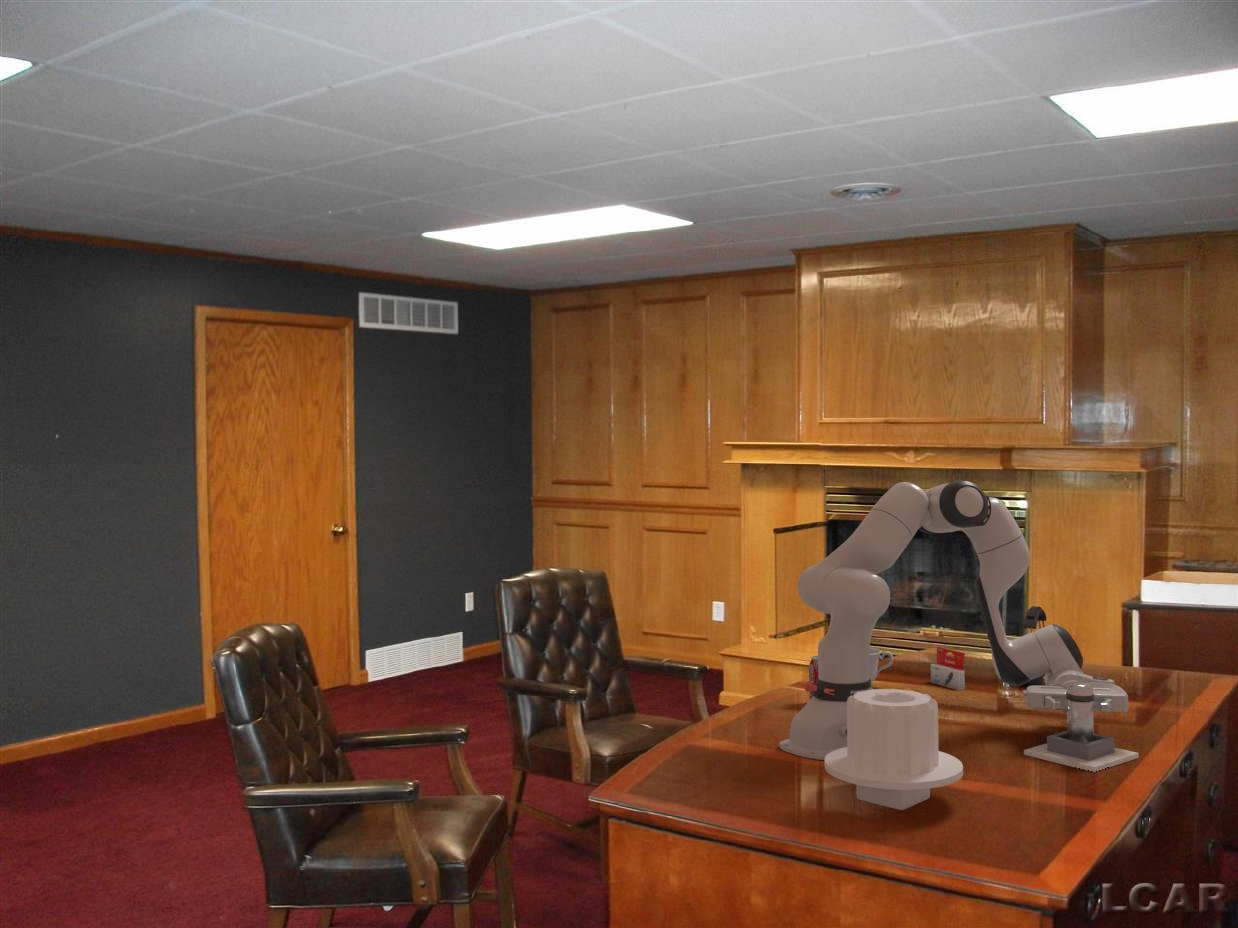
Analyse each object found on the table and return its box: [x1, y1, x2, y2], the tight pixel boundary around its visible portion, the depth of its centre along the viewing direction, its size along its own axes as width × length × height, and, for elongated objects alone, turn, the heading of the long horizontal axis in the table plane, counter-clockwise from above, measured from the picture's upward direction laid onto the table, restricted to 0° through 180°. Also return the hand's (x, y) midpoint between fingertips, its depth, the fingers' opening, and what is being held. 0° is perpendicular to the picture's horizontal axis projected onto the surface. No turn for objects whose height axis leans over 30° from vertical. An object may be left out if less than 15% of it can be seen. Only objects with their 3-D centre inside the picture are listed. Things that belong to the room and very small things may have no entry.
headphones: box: [1022, 605, 1048, 686], centre depth 304 cm, size 22×6×20 cm, turn 148°
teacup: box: [869, 646, 894, 683], centre depth 298 cm, size 12×15×10 cm
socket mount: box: [1023, 730, 1140, 773], centre depth 230 cm, size 16×16×4 cm
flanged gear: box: [824, 688, 964, 811], centre depth 205 cm, size 25×25×19 cm
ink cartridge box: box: [930, 646, 966, 691], centre depth 298 cm, size 2×11×10 cm, turn 25°
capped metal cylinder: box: [1066, 682, 1094, 744], centre depth 230 cm, size 5×5×14 cm
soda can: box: [808, 655, 818, 701], centre depth 279 cm, size 7×7×12 cm
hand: (1080, 707), depth 229 cm, fingers open, 8 cm apart
